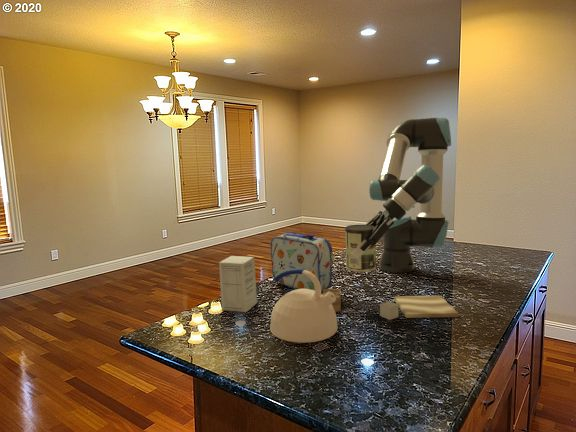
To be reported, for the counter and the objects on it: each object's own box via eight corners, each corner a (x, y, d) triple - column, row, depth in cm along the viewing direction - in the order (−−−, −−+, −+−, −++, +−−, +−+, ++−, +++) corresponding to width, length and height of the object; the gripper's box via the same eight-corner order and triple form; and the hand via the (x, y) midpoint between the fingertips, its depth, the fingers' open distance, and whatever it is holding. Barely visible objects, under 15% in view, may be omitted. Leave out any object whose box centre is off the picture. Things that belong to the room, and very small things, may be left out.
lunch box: (339, 291, 152) (338, 234, 149) (322, 299, 145) (321, 238, 142) (286, 277, 171) (284, 226, 168) (268, 284, 164) (266, 230, 160)
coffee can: (375, 263, 143) (375, 224, 140) (376, 272, 133) (376, 230, 130) (346, 262, 145) (345, 224, 142) (344, 271, 135) (343, 230, 132)
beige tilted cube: (379, 316, 129) (380, 304, 128) (388, 313, 131) (388, 301, 130) (389, 320, 125) (389, 307, 125) (398, 317, 127) (398, 304, 127)
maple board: (394, 299, 142) (394, 296, 142) (440, 298, 142) (440, 295, 142) (406, 317, 126) (406, 314, 126) (458, 316, 126) (458, 313, 126)
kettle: (319, 350, 108) (317, 284, 105) (256, 333, 118) (253, 274, 116) (349, 322, 124) (349, 265, 122) (292, 310, 135) (290, 257, 133)
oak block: (323, 299, 145) (323, 289, 144) (340, 299, 144) (340, 289, 143) (323, 304, 140) (322, 293, 139) (340, 304, 139) (340, 293, 139)
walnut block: (320, 308, 137) (320, 293, 136) (334, 306, 138) (334, 292, 137) (326, 313, 132) (326, 298, 131) (340, 311, 133) (340, 296, 133)
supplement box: (257, 303, 143) (255, 256, 140) (246, 312, 134) (244, 263, 131) (233, 300, 146) (230, 255, 143) (220, 310, 137) (218, 261, 135)
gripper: (416, 218, 124) (365, 269, 127) (398, 207, 146) (355, 250, 149) (399, 201, 123) (348, 253, 126) (383, 193, 145) (340, 237, 149)
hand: (351, 252), depth 138 cm, fingers closed on coffee can, 10 cm apart
